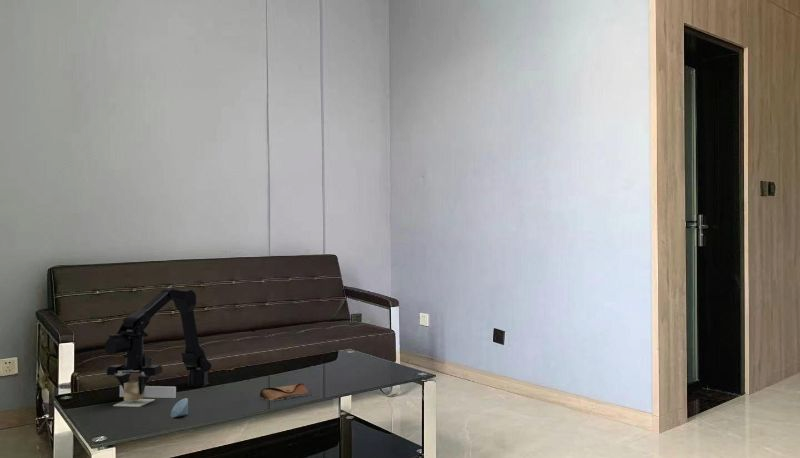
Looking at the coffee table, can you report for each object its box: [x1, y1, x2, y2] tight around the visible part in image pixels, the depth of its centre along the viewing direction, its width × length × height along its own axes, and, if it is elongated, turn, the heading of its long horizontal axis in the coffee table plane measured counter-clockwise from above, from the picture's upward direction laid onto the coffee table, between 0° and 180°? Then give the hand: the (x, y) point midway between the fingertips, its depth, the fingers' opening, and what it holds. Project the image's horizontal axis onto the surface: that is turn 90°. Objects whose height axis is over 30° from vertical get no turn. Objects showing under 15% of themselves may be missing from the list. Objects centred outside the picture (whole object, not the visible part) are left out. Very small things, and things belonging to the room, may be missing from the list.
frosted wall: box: [119, 385, 177, 399], centre depth 232 cm, size 22×1×4 cm, turn 82°
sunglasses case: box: [259, 382, 309, 400], centre depth 231 cm, size 18×7×7 cm
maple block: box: [123, 379, 146, 401], centre depth 223 cm, size 5×5×6 cm
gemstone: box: [170, 397, 189, 419], centre depth 205 cm, size 8×8×5 cm
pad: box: [112, 398, 156, 408], centre depth 223 cm, size 10×10×1 cm
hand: (134, 394), depth 223 cm, fingers closed on maple block, 5 cm apart
